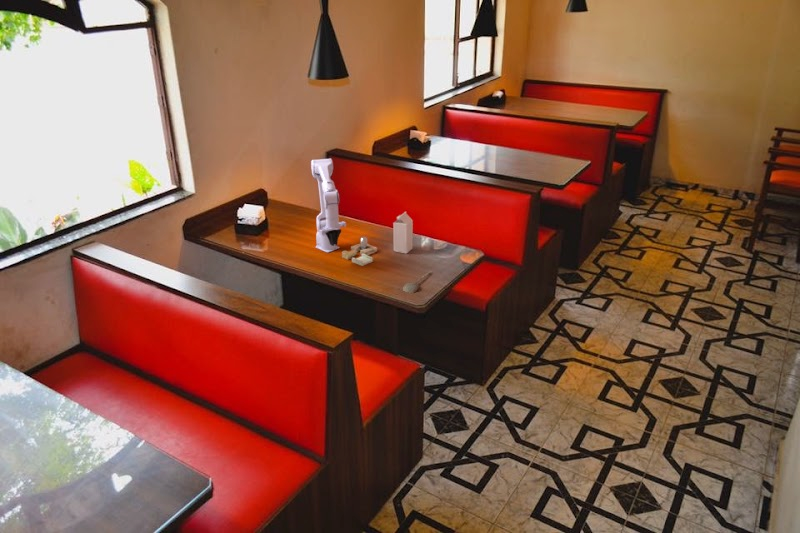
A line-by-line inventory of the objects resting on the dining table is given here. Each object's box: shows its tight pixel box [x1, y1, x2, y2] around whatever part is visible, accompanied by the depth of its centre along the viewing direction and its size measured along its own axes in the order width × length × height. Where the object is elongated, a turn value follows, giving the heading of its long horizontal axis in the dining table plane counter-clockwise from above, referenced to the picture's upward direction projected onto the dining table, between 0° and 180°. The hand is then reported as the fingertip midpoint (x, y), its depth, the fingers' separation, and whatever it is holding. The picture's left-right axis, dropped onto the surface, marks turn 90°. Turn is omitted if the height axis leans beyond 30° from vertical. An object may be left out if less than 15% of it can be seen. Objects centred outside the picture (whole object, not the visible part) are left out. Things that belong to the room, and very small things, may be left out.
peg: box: [360, 236, 368, 250], centre depth 306 cm, size 3×3×7 cm
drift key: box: [341, 250, 358, 261], centre depth 301 cm, size 4×6×3 cm, turn 136°
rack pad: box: [351, 254, 374, 267], centre depth 296 cm, size 7×7×2 cm
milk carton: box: [392, 211, 414, 254], centre depth 304 cm, size 7×7×19 cm
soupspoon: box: [402, 270, 433, 294], centre depth 276 cm, size 22×3×7 cm
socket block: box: [350, 242, 378, 256], centre depth 307 cm, size 10×8×2 cm
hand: (333, 244), depth 291 cm, fingers closed
